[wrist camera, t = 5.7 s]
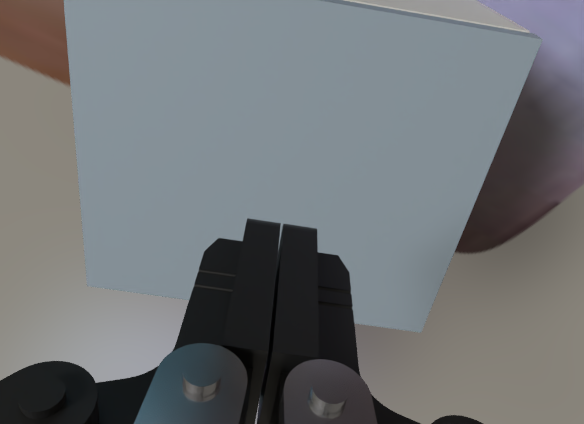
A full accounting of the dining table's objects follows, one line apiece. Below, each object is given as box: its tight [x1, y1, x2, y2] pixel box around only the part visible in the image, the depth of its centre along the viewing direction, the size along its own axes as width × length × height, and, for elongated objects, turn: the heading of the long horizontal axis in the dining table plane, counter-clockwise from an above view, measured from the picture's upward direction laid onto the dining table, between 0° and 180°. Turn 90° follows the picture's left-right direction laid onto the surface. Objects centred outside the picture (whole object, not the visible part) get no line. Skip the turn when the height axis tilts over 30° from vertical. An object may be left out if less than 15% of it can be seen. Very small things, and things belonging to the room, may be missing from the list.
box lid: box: [64, 0, 543, 332], centre depth 21 cm, size 14×16×1 cm
